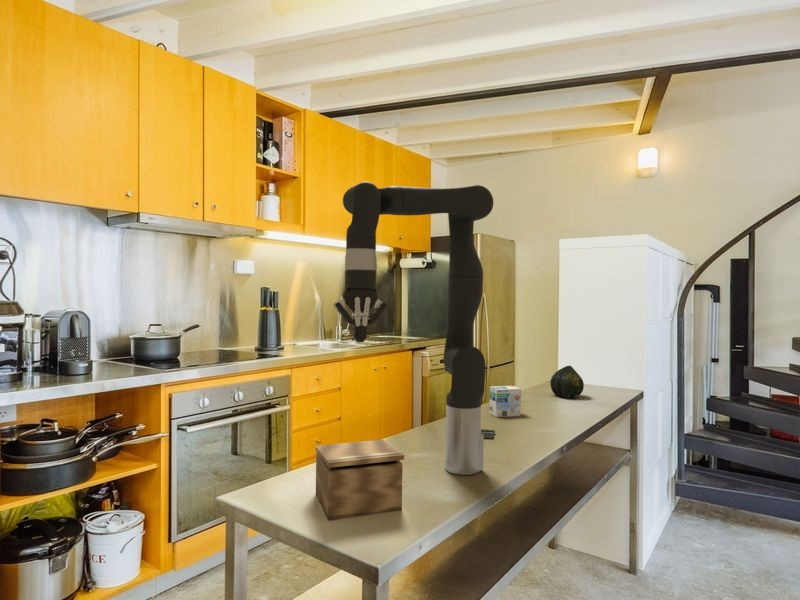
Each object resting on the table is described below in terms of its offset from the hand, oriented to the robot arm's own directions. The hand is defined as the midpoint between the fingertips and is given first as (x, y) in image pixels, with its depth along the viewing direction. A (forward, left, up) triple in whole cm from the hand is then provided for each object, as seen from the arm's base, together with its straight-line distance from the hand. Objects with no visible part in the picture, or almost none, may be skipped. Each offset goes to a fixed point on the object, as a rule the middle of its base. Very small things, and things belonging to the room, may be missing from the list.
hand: (359, 341), depth 117 cm
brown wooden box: (+2, +7, -35) cm, 36 cm away
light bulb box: (-74, -53, -35) cm, 98 cm away
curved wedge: (-50, -32, -36) cm, 69 cm away
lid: (+2, +7, -24) cm, 26 cm away
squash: (-121, -75, -35) cm, 147 cm away
